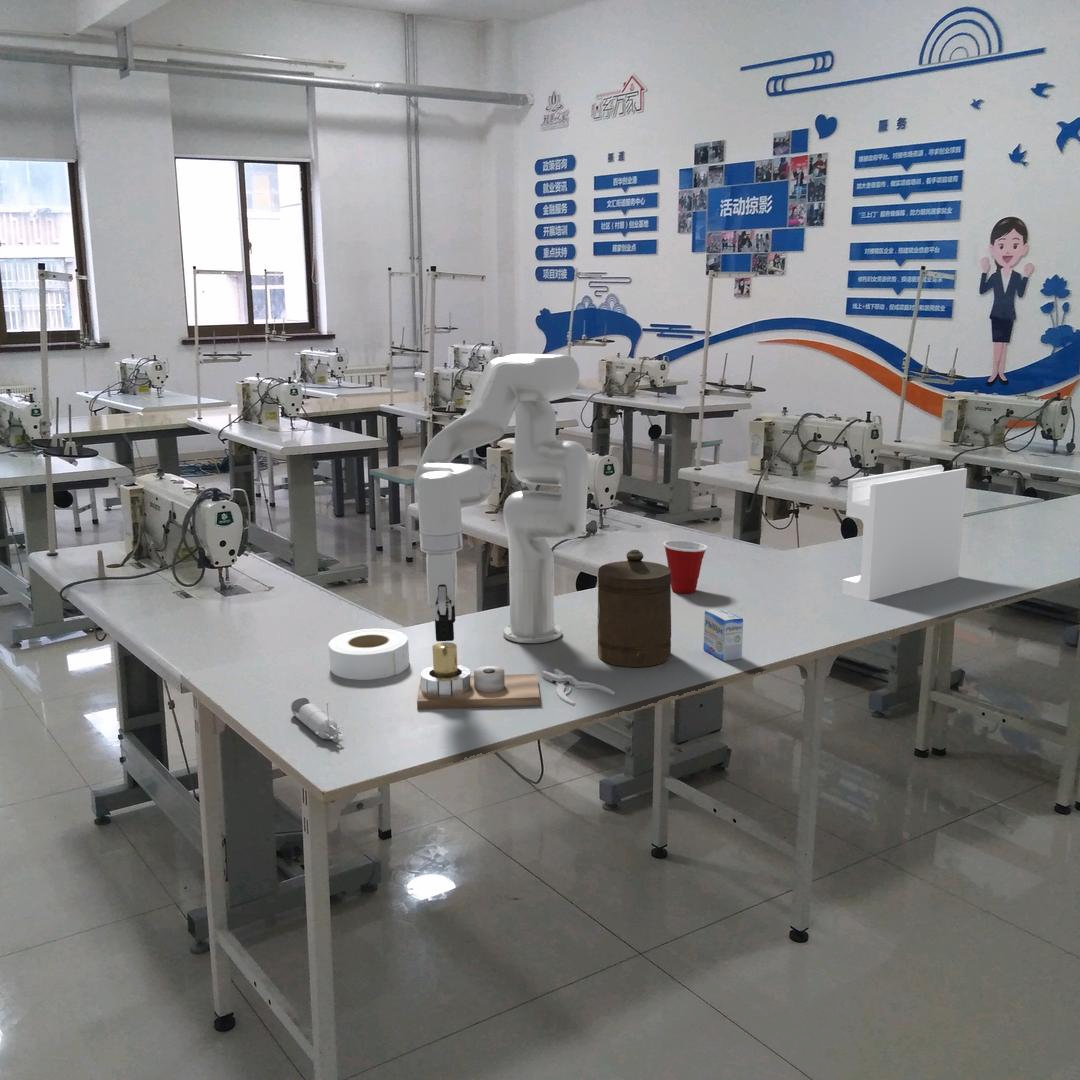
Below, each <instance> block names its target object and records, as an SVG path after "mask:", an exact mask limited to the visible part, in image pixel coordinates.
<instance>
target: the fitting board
mask: <svg viewBox="0 0 1080 1080" xmlns="http://www.w3.org/2000/svg"><path fill="white" fill-rule="evenodd" d="M470 681H471V689H470V690H469V691H468V692H466V693H465V694H462V695H458V696H454V697H452V696H451V697H434V696H429V695H426V694H425V693H423V692H422V691H421V678H420V679H419V685H418V692H417V698H416V706H417V710H422V709H423V710H428V709H431V710H432V709H452V708H453V709H455V708H457V709H458V708H459V709H460V708H488V707H489V708H490V707H517V706H520V707H522V706H540V705H541V696H540V689H539V683H538V676H537V673H521V674H520V673H517V674H516V673H515V674H505V669H504V668H502V667H499V666H494V665H486V666H484V665H483V666H480V667H477V668H475V669H474V670H473V675H470Z"/></svg>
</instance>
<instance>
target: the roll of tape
mask: <svg viewBox="0 0 1080 1080" xmlns="http://www.w3.org/2000/svg"><path fill="white" fill-rule="evenodd" d="M327 645H328V657H329V669H330V672H331V673H332V674H333V675H335V676H336V677H340V678H344V679H349V680H358V681H359V680H362V681H366V680H369V681H370V680H377V679H384V678H388V677H392V676H395V675H396V676H397V675H399V674H401V673H403V672H405V671H406V670H407V668H408V667H409V666H410V651H409V650H410V649H409V638H408V635H407V634H405V633H403V632H401V631H399V630H394V629H390V628H363V629H356V630H350V631H348V632H347V631H346V632H344V633H341V634H338V635H336V636H335V637H333V638H331V640H329V642H328V644H327Z"/></svg>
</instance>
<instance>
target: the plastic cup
mask: <svg viewBox="0 0 1080 1080" xmlns="http://www.w3.org/2000/svg"><path fill="white" fill-rule="evenodd" d="M663 546H664V549H665V556H666V562H667V567H668V568H669V569H670V570H671V590H672V592H673V593H676V594H679V595H680V594H681V595H688V594H694V593H695V592H696V590H697V587H698V581H699V580H698V579H699V576H700V572H701V568H702V563H703V558H704V556H705V554H706V551H707V550H708V548H709V546H707V545H706V544H703V543H700V542H697V541H688V540H680V539H678V540H676V539H674V540H667V541H666V540H665V541H664V542H663Z"/></svg>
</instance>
